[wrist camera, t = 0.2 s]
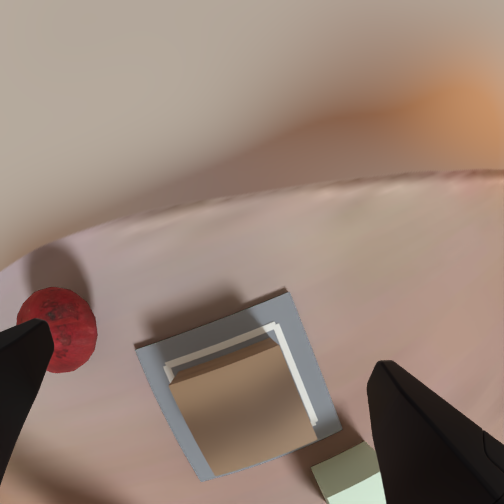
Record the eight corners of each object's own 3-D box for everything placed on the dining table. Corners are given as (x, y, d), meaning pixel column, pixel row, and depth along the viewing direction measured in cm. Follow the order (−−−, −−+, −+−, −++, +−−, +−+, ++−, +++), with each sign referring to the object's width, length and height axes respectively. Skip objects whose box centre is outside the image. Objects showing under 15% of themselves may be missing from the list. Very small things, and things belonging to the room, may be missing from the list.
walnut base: (303, 418, 20) (317, 439, 17) (217, 450, 20) (215, 476, 16) (270, 337, 21) (279, 344, 17) (178, 371, 20) (168, 385, 17)
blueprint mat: (341, 427, 21) (342, 429, 20) (201, 479, 19) (200, 482, 19) (288, 291, 22) (289, 291, 22) (136, 349, 21) (134, 350, 20)
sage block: (376, 477, 20) (401, 503, 15) (326, 502, 20) (343, 533, 15) (364, 440, 21) (390, 465, 16) (310, 466, 20) (327, 497, 15)
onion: (88, 275, 21) (31, 262, 14) (126, 340, 21) (78, 356, 13) (40, 313, 21) (-22, 314, 13) (75, 375, 20) (18, 399, 12)
